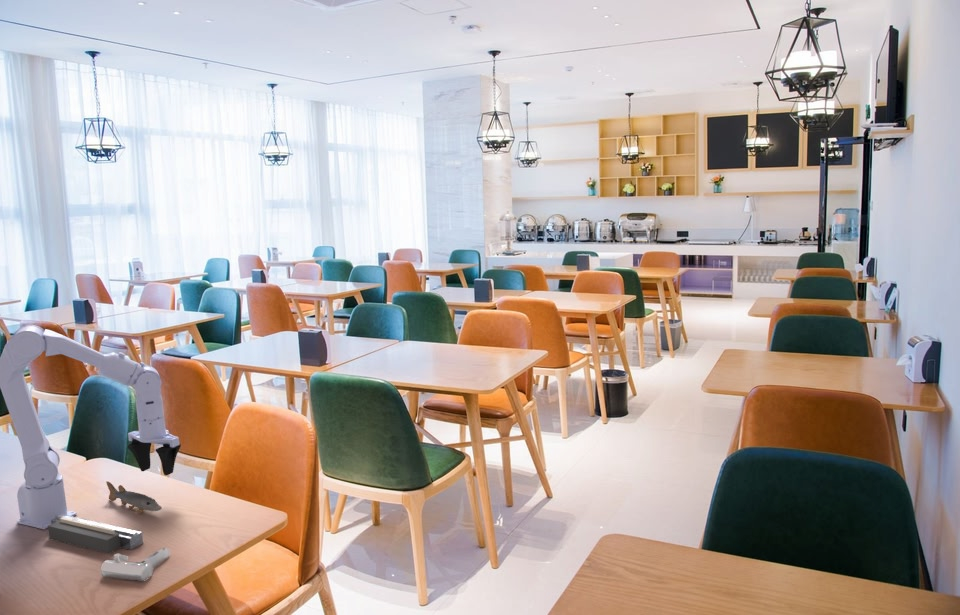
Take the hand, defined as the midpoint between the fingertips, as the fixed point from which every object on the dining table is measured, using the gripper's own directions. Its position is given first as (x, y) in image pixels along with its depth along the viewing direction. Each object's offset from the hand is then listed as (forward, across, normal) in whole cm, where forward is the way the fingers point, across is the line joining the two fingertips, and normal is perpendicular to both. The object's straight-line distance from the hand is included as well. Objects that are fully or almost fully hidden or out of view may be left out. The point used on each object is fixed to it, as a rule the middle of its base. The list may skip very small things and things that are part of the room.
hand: (157, 471), depth 168 cm
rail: (+6, -4, +20) cm, 21 cm away
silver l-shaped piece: (+7, -24, +26) cm, 36 cm away
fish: (+7, 0, +7) cm, 10 cm away
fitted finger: (+6, -4, +23) cm, 24 cm away
